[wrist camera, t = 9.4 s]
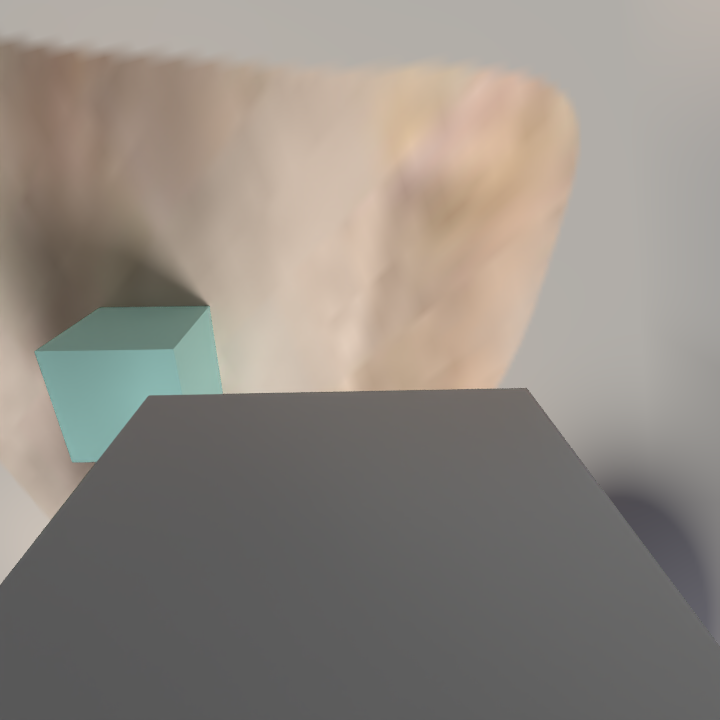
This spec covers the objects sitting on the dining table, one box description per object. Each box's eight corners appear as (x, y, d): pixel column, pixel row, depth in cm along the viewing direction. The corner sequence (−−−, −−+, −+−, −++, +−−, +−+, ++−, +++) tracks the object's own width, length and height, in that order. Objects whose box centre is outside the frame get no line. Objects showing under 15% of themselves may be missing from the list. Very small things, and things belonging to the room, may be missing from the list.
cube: (224, 398, 19) (195, 459, 15) (125, 400, 19) (72, 462, 15) (209, 305, 17) (173, 349, 13) (100, 306, 17) (34, 351, 13)
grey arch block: (484, 631, 11) (639, 1167, 5) (205, 640, 11) (46, 1207, 5) (527, 388, 8) (968, 981, 2) (148, 395, 8) (-368, 1056, 2)
